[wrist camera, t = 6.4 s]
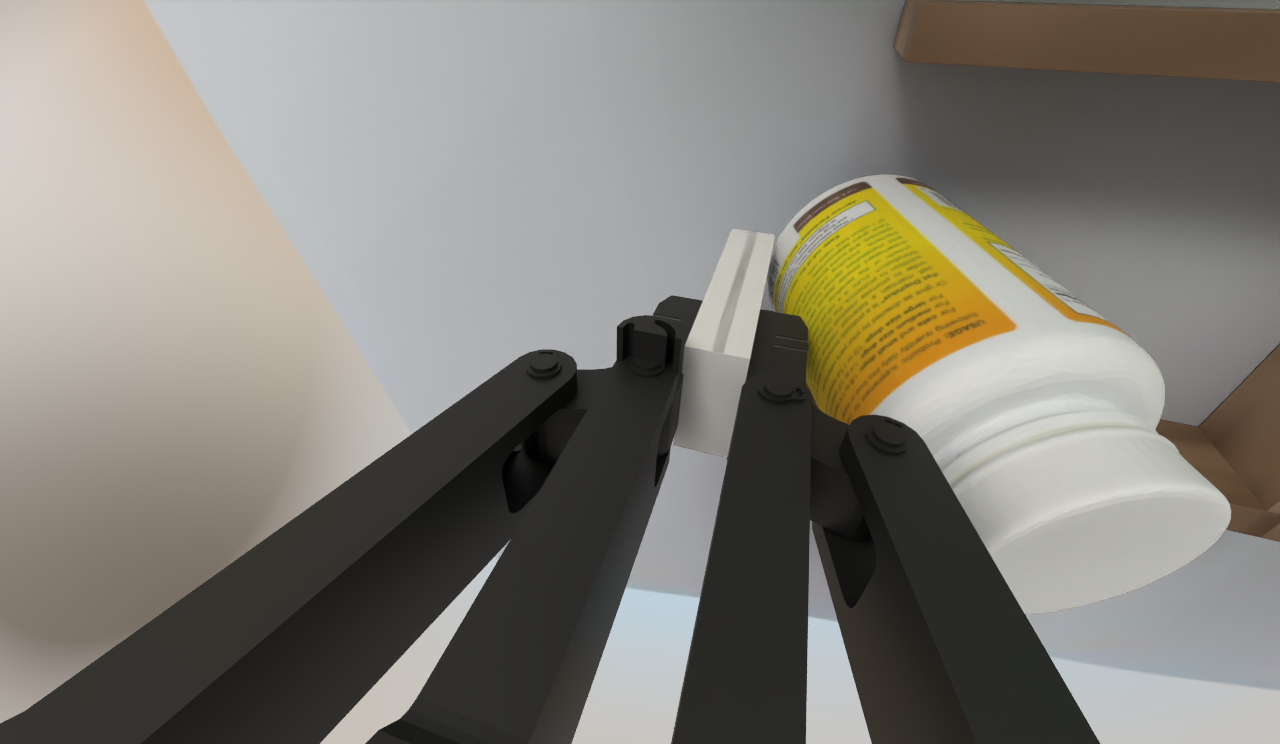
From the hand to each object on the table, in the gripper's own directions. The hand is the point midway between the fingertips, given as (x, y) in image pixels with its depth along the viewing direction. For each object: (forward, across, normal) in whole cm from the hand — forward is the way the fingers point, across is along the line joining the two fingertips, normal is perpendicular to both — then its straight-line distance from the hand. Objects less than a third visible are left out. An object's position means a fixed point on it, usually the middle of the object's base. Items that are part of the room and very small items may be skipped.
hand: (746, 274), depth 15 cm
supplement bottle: (+2, +3, 0) cm, 4 cm away
